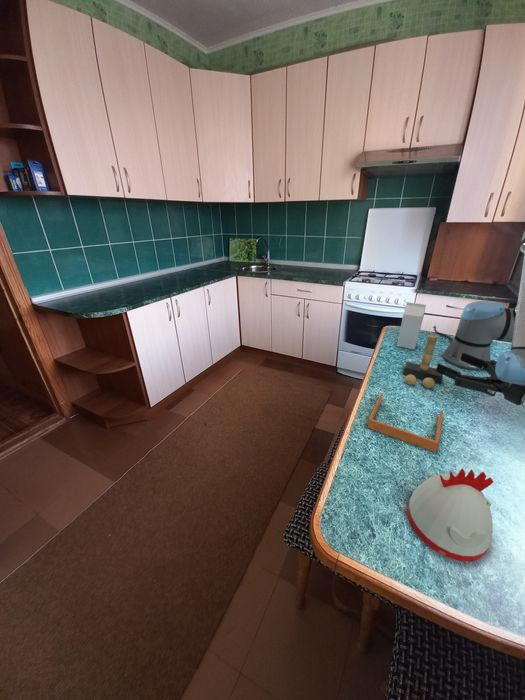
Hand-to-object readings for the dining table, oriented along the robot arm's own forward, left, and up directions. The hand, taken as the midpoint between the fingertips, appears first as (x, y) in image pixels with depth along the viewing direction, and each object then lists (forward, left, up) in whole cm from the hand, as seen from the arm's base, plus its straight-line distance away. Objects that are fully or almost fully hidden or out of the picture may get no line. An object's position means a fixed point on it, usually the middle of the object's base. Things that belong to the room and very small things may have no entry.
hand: (449, 361), depth 95 cm
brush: (-4, -7, -10) cm, 12 cm away
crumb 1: (+4, -10, -8) cm, 13 cm away
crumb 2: (+3, -4, -8) cm, 10 cm away
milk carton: (-28, -16, -10) cm, 33 cm away
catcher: (+26, -8, -10) cm, 29 cm away
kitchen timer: (+53, +4, -10) cm, 55 cm away
